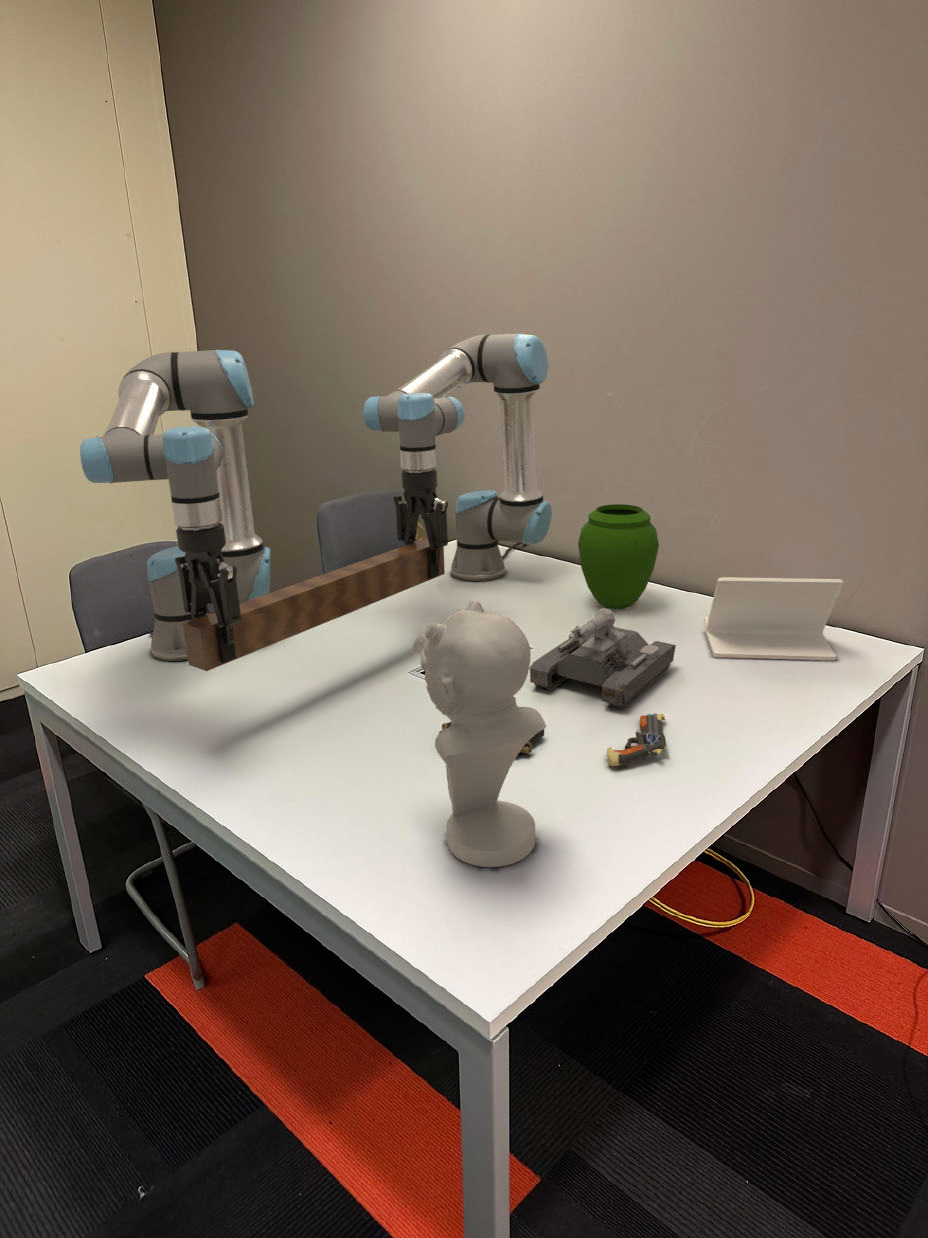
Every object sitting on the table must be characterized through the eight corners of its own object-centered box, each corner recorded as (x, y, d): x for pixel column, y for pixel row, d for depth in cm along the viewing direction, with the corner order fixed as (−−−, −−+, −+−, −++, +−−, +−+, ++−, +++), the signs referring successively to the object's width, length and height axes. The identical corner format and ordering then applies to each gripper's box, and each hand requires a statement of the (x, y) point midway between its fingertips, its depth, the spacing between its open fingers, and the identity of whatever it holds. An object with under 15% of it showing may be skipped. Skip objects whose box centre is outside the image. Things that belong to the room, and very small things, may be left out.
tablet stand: (836, 660, 178) (847, 583, 172) (713, 657, 182) (720, 581, 176) (815, 629, 195) (824, 557, 189) (703, 626, 199) (708, 556, 193)
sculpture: (403, 551, 265) (401, 503, 259) (427, 550, 265) (424, 502, 260) (404, 556, 259) (402, 508, 254) (428, 555, 260) (426, 506, 255)
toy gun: (606, 756, 139) (668, 753, 137) (608, 711, 157) (664, 708, 155) (607, 771, 140) (669, 769, 138) (610, 724, 158) (665, 722, 156)
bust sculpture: (481, 772, 140) (476, 569, 128) (565, 848, 120) (569, 617, 108) (392, 800, 134) (378, 588, 121) (465, 886, 114) (457, 642, 101)
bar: (206, 671, 142) (200, 629, 140) (188, 665, 145) (182, 623, 143) (444, 574, 190) (443, 541, 187) (427, 570, 193) (426, 538, 190)
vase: (599, 587, 227) (601, 497, 218) (668, 600, 216) (673, 505, 208) (562, 608, 212) (564, 513, 204) (634, 623, 202) (639, 523, 193)
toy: (588, 647, 189) (590, 583, 183) (674, 666, 178) (679, 599, 172) (528, 689, 170) (528, 618, 164) (621, 714, 158) (624, 639, 153)
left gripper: (253, 526, 136) (269, 660, 144) (186, 513, 147) (204, 639, 155) (214, 537, 131) (233, 676, 139) (147, 522, 141) (168, 652, 149)
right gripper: (463, 470, 177) (466, 577, 185) (399, 462, 188) (404, 564, 196) (440, 476, 172) (444, 586, 180) (375, 468, 182) (382, 572, 190)
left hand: (218, 656), depth 147 cm, fingers closed on bar, 5 cm apart
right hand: (424, 574), depth 188 cm, fingers closed on bar, 5 cm apart
